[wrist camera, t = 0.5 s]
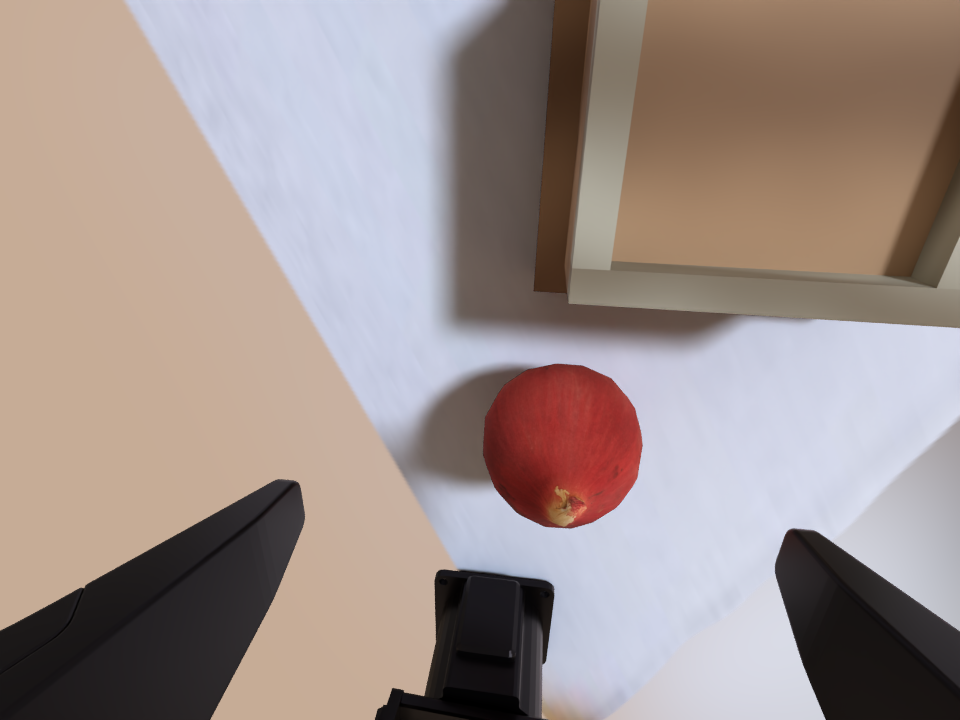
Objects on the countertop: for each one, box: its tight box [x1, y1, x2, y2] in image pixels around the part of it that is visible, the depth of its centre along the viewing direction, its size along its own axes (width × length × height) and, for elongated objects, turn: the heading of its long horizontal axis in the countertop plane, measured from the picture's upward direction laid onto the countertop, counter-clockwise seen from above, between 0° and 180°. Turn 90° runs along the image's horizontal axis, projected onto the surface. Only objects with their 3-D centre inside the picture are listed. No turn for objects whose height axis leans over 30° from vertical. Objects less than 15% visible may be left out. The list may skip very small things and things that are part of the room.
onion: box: [483, 364, 643, 528], centre depth 18 cm, size 6×6×8 cm
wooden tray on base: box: [534, 0, 960, 328], centre depth 14 cm, size 12×12×6 cm
